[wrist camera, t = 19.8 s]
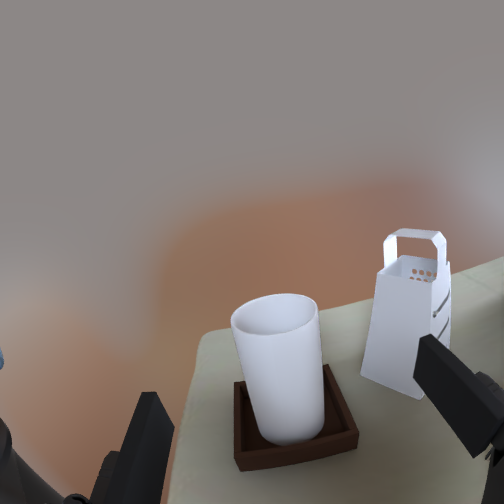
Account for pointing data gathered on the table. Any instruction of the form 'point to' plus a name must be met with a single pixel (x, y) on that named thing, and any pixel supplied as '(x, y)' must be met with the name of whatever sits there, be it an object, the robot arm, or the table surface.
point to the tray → (271, 455)
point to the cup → (282, 365)
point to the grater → (407, 313)
